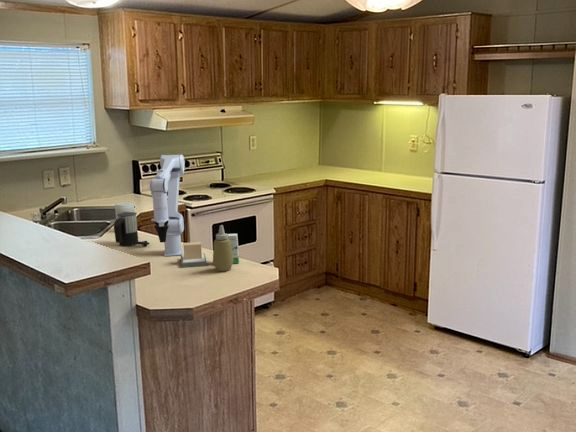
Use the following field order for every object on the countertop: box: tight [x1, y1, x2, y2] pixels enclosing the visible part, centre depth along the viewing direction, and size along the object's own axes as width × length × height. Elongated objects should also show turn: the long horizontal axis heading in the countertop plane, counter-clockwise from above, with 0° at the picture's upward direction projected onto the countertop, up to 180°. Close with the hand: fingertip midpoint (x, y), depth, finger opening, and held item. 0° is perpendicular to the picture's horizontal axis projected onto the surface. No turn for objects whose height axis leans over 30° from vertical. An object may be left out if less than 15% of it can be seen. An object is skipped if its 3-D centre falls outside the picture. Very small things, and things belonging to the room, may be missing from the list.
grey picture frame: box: [180, 252, 208, 269], centre depth 261 cm, size 14×10×2 cm
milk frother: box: [113, 211, 151, 247], centre depth 293 cm, size 14×16×15 cm
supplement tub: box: [114, 201, 135, 221], centre depth 324 cm, size 10×10×15 cm
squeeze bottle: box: [212, 224, 233, 272], centre depth 248 cm, size 8×8×18 cm
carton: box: [183, 241, 203, 260], centre depth 261 cm, size 7×4×6 cm, turn 102°
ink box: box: [227, 233, 240, 265], centre depth 258 cm, size 9×5×12 cm, turn 92°
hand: (162, 240), depth 259 cm, fingers open, 7 cm apart
